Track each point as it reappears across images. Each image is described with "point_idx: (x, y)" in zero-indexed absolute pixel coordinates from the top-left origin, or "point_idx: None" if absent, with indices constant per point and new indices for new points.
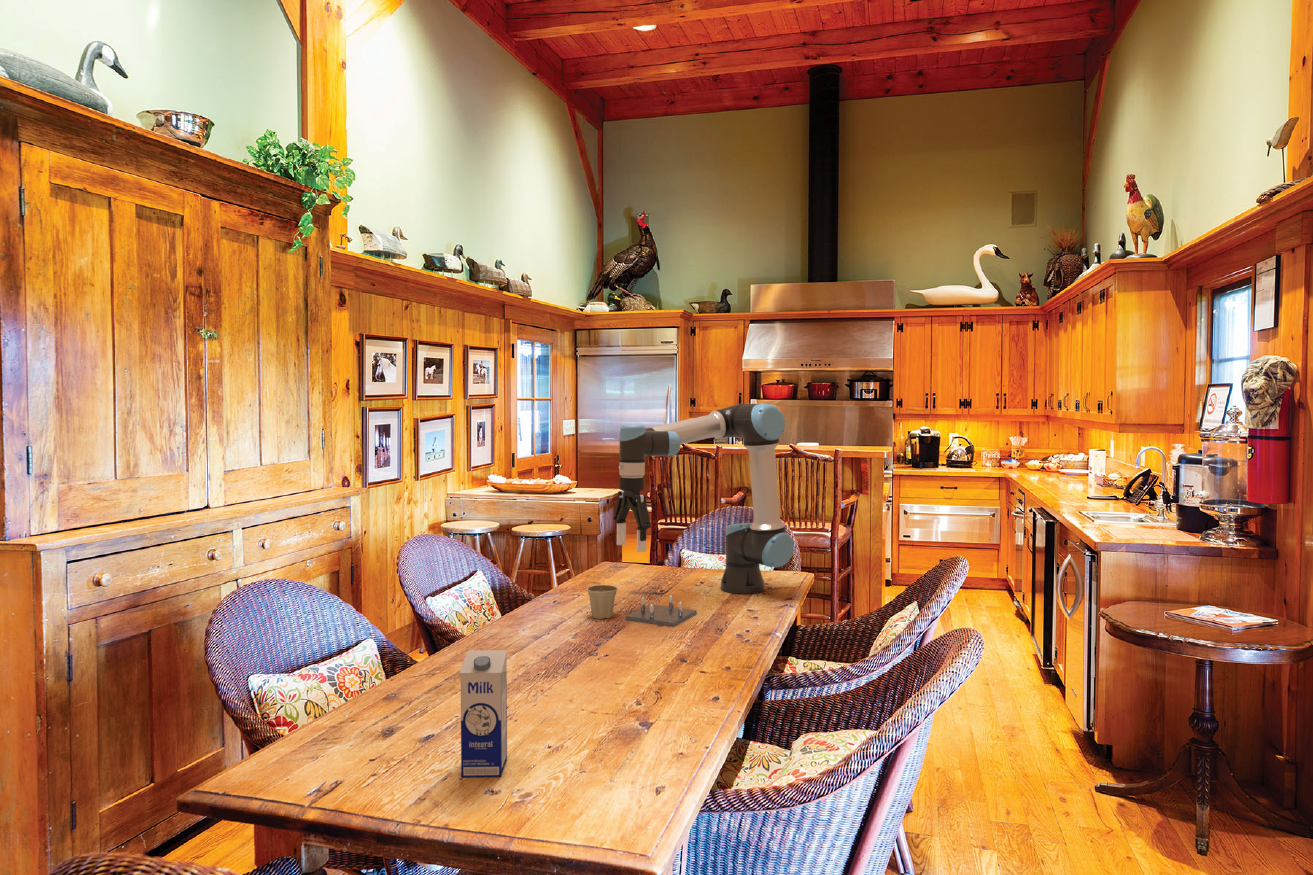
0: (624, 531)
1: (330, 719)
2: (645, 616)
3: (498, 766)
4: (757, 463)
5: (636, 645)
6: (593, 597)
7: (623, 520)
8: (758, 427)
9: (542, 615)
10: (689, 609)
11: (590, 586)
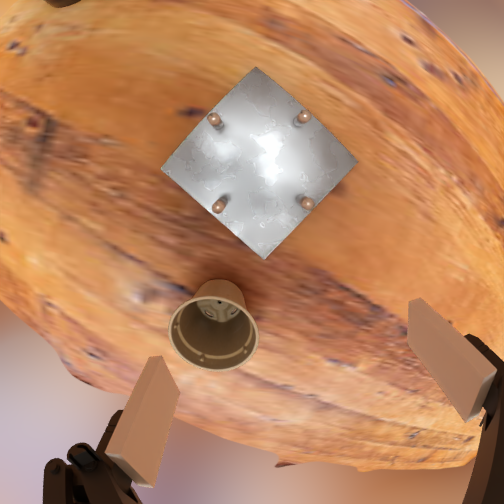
0: (142, 417)
1: (433, 467)
2: (283, 211)
3: None
4: None
5: (435, 273)
6: (238, 350)
7: (113, 478)
8: None
9: (190, 392)
10: (243, 81)
11: (183, 358)
